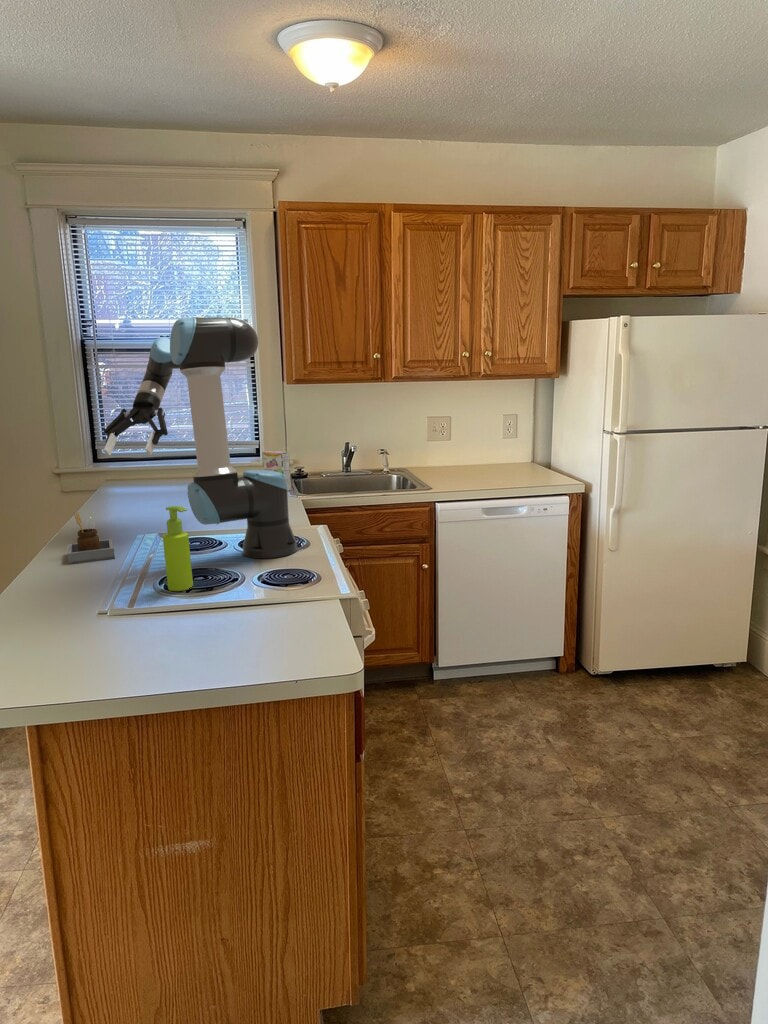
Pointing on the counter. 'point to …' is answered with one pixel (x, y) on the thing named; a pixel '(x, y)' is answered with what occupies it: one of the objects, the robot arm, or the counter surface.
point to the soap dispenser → (177, 553)
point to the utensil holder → (87, 537)
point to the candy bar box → (278, 464)
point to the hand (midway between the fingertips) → (127, 452)
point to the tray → (91, 553)
